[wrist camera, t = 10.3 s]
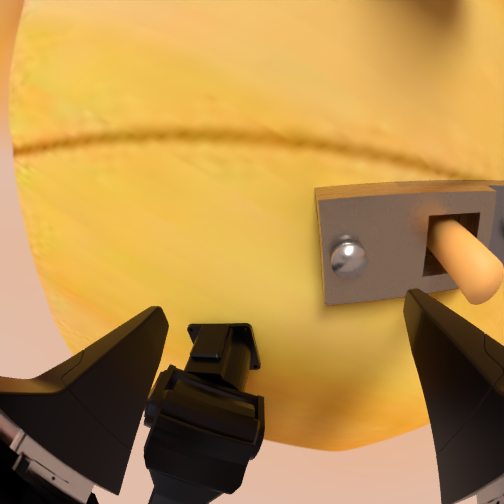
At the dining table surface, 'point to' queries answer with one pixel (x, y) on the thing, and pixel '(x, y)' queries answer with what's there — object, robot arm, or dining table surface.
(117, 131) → the dining table surface
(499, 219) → the grey peg hole base
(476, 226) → the gray switch cover plate
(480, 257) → the connecting pin
